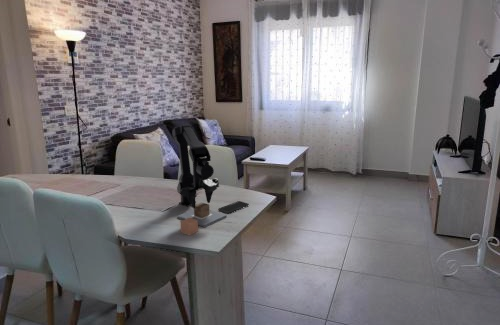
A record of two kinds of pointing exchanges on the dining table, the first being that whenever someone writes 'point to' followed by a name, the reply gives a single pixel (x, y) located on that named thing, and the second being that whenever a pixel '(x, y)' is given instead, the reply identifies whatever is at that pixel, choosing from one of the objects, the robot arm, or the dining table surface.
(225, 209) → the phone
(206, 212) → the walnut cube
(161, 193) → the dining table surface
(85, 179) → the dining table surface
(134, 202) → the dining table surface
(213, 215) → the board
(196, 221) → the terracotta cube
